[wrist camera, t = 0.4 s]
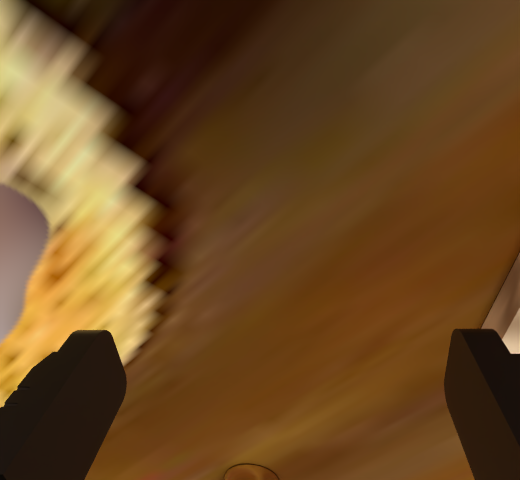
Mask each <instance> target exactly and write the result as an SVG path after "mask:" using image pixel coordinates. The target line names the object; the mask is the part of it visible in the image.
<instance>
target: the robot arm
mask: <svg viewBox="0 0 520 480" xmlns="http://www.w3.org/2000/svg"><path fill="white" fill-rule="evenodd" d="M126 384H127V381H126V374H125V371H124V368H123V365H122V363H121V360H120V357H119V354H118V351H117V348H116V345H115V343H114V340H113V337H112V335H111V333H110V332H109V331H107V330H77V331H75V332H73V333H72V334H71V335H70V336H69V337H68V339H67V340H66V341H65V343H64V344H63V345H62V347H61V348H60V349H59V350H58V352H52V353H51V354H50V355H49V356H47V357H46V358H45V359H43V360H42V361H41V362H40V363H38V364H37V365H36V366H34V367H33V368H32V369H31V370H30V372H29V373H28V374H27V375H26V377H25V378H24V379H23V380H22V382H21V383H20V384H19V385H18V389H17V391H14V392H13V393H12V394H11V395H10V397H9V398H8V399H7V400H6V401H5V405H4V407H1V408H0V480H84V479H85V477H86V475H87V473H88V471H89V469H90V467H91V465H92V463H93V461H94V459H95V457H96V455H97V453H98V451H99V449H100V447H101V445H102V442H103V440H104V438H105V436H106V434H107V432H108V430H109V428H110V426H111V424H112V422H113V420H114V418H115V416H116V414H117V412H118V410H119V408H120V406H121V404H122V402H123V399H124V396H125V393H126ZM444 389H445V397H446V402H447V406H448V409H449V412H450V414H451V417H452V420H453V422H454V425H455V428H456V430H457V433H458V436H459V438H460V441H461V444H462V446H463V449H464V452H465V454H466V457H467V460H468V462H469V465H470V468H471V470H472V473H473V476H474V478H475V480H520V354H511V353H510V352H509V350H508V348H507V347H506V345H505V344H504V342H503V341H502V339H501V337H500V336H499V334H498V333H497V332H496V331H495V330H494V329H455V330H454V331H453V333H452V336H451V342H450V348H449V354H448V360H447V366H446V372H445V379H444Z"/></svg>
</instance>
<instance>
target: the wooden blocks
mask: <svg viewBox="0 0 520 480" xmlns="http://www.w3.org/2000/svg"><path fill="white" fill-rule="evenodd" d="M481 329H494V330H495V331H496V332H497V333H498V334H499V336H500V337H501V339H502V341H503V342H504V344H505V345H506V347H507V348H508V350H509V352H510V353H511V354H520V253H519V255H518V257H517V259H516V261H515V263H514V265H513V267H512V269H511V271H510V273H509V274H508V276H507V278H506V280H505V282H504V284H503V286H502V288H501V290H500V292H499V294H498V296H497V298H496V300H495V302H494V304H493V306H492V308H491V310H490V312H489V314H488V316H487V318H486V320H485V322H484V324H483V326H482V328H481Z"/></svg>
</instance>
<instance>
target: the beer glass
mask: <svg viewBox="0 0 520 480" xmlns="http://www.w3.org/2000/svg"><path fill="white" fill-rule="evenodd" d="M224 480H279V479H278V478H277V476H276V475H275V474H274V473H273V472H272V471H270V470H268V469H266V468H264V467H261V466H258V465H252V464H242V465H237V466H234V467H232V468H230V469H229V470H228V471H227V472H226V474H225V477H224Z"/></svg>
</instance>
